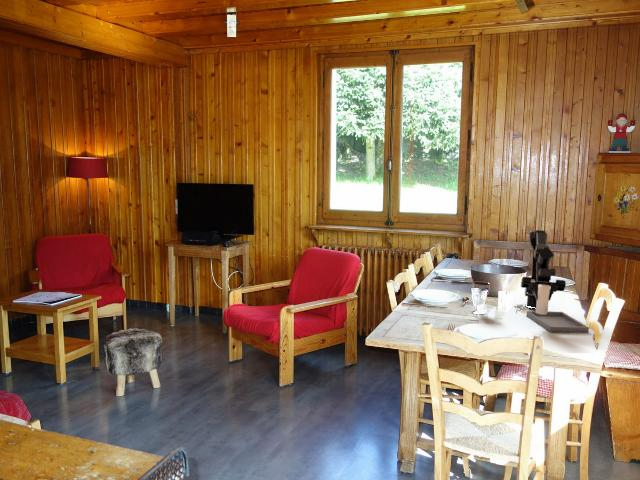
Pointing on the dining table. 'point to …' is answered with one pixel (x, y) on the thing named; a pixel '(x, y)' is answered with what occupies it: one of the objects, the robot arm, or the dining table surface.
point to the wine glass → (481, 286)
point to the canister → (542, 299)
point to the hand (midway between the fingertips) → (543, 299)
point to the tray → (558, 322)
